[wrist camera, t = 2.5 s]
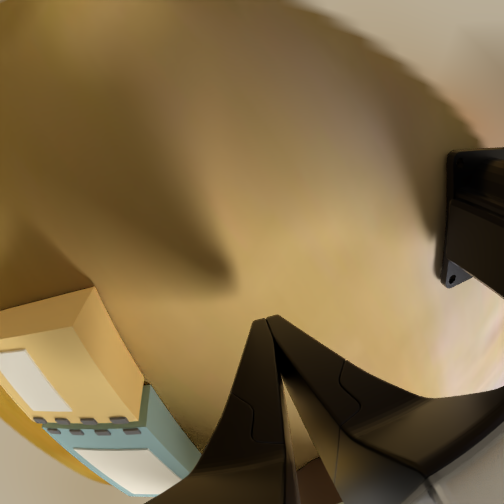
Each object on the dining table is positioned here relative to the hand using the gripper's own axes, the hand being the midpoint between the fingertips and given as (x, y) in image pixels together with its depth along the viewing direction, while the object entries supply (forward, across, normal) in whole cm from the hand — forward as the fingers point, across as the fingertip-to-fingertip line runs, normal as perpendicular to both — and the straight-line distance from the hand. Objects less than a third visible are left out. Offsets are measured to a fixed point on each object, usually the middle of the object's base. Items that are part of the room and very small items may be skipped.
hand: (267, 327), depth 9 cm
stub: (+2, +9, 0) cm, 9 cm away
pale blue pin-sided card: (+2, +9, +8) cm, 12 cm away
